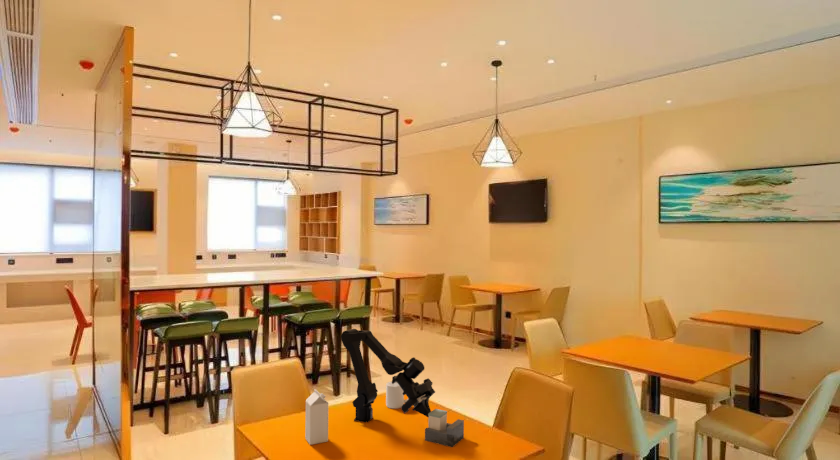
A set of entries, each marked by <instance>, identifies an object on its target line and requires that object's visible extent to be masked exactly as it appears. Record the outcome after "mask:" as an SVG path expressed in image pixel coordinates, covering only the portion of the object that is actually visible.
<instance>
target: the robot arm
mask: <svg viewBox="0 0 840 460" xmlns="http://www.w3.org/2000/svg"><path fill="white" fill-rule="evenodd" d="M340 340H341V342H342V344H343V347H344V348H345V349H346V350H347V351H348V352H349V357H350V360H351V363H352V367H353V371H354V374H355V377H356V378H355V379H356V382H357V388H356V398H355V399H353V401H352V406H353V408H355V418H354V419H353V422H361V423H369V422H370V421H371V420H372V419H373V417H374V416H373V415H374V414H373V413H374V412H373V405H372V404H374V402H375V400H376V399H377V397H378V392H379V391H378V389H377V385H376V383H375V382H372V381H370V379H369V376H368V371H367V368H366V365H365V362H364V359H363V355H362V351H361V342H363V343H364V344H365V345H366V346H367V348H369V350H370V351H371V352H372V353H373V354H374V355H375V356H376V357H377V358H378V359H379V360H380V363H381V366H382V368H383V369H384V372H386V374H387V375H389V376H392V380H391V382H392V384H394V383H396V382H397V383H398V384H399V386H400V387H401V389H402V390H403V391H404V392H403V393H402V394H403V395H404V396H406V397H407V399H408V398H409V400H407V401H406V402H405V403H404V404H403V405H402V407H401V411H402V412H403V414H406V413H408V412H409V410H410V409H411V408H412V407H413V408H412V411H415V412H417V413H420V414H421V415H423V416H425V417H427V418H429V416H428V413H430V412H431V411H432V410H431V408H430V405H429V401H430V397H432V396H433V395H434V394H435V393H436V391H435V389H434V388H433V381H432V380H430V378H426V379H424V380H423V382H422V383H419V382H417V381H416V382H415V381H414V380H416V379H417V377H419V375H420V374H422V372H424V371H425V365H424V363H423V362H422V361H421V360H420V359H416V357H411V358H410V359H409V360H408V362H405V361H403V360H402V359H401V358H400V357H399V356H397V355H395V354H393V353H391V352H390V351H388V349H386V347H385V346H384V345H383V344H382V343H381V342H380V341H379V340H378V339H377V337H376V336H375V335H373V333H372V331H371V330H363V329H361V330H359V329H357V328H350V329H346V330H344V331H343V332H342V333H341V334H340ZM402 371H403V372H402ZM396 374H397V375H396ZM393 375H394V376H393Z"/></svg>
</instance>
